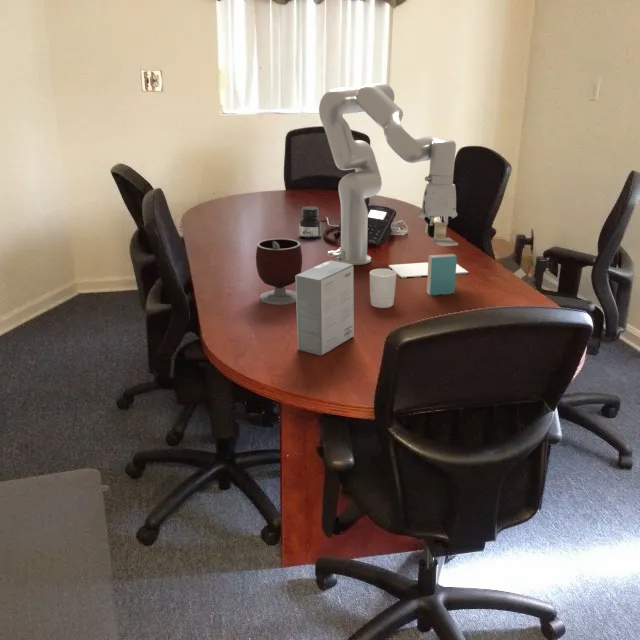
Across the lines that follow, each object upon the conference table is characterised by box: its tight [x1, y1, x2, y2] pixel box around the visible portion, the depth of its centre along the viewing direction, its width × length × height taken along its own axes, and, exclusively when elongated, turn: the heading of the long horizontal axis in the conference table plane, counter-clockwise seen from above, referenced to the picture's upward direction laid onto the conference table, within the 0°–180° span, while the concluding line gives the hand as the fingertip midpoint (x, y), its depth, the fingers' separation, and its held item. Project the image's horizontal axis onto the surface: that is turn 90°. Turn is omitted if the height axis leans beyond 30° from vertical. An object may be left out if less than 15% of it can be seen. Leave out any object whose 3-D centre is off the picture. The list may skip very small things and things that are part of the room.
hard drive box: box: [295, 260, 355, 357], centre depth 170 cm, size 16×8×20 cm, turn 145°
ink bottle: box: [298, 205, 322, 239], centre depth 276 cm, size 10×9×12 cm
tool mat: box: [388, 262, 469, 279], centre depth 233 cm, size 24×14×1 cm, turn 103°
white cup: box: [369, 268, 397, 309], centre depth 199 cm, size 8×8×10 cm
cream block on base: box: [424, 217, 459, 247], centre depth 216 cm, size 16×6×5 cm, turn 13°
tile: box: [426, 253, 458, 296], centre depth 208 cm, size 8×3×12 cm, turn 103°
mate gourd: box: [255, 238, 303, 306], centre depth 202 cm, size 16×14×20 cm
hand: (436, 235), depth 219 cm, fingers closed on cream block on base, 3 cm apart
